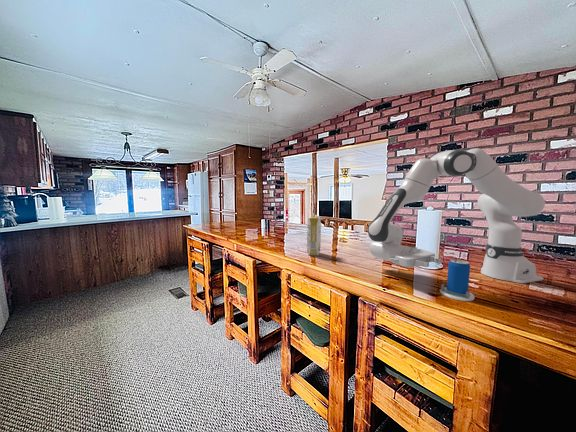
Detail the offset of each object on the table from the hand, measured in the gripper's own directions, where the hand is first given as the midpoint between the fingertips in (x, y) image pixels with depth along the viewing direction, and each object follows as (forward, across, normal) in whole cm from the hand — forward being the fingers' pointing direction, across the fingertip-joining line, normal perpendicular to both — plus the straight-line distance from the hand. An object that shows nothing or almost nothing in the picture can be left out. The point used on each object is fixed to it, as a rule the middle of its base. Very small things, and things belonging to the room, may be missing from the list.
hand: (434, 263), depth 94 cm
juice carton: (-65, -11, +10) cm, 67 cm away
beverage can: (+8, 0, +9) cm, 12 cm away
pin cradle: (+8, 0, +10) cm, 13 cm away
